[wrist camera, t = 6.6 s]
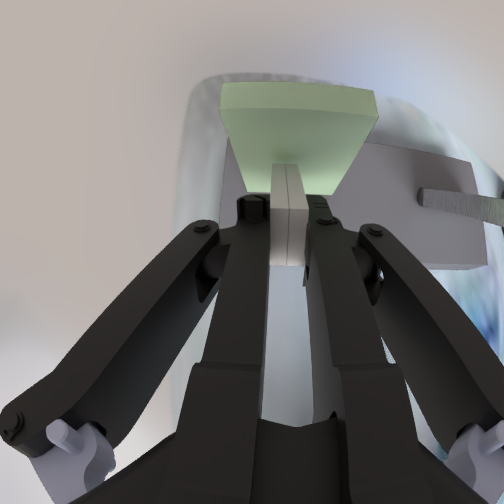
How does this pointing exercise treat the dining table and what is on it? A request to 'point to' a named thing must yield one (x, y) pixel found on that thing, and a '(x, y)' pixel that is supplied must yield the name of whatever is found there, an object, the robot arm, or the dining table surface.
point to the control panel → (394, 203)
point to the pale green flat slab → (296, 130)
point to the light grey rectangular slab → (463, 204)
